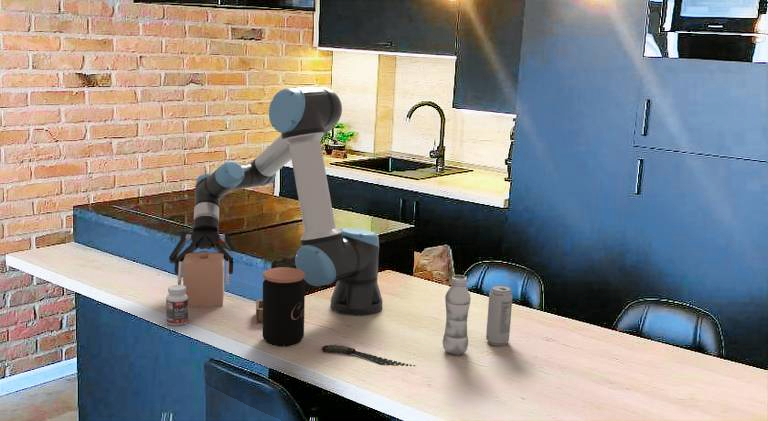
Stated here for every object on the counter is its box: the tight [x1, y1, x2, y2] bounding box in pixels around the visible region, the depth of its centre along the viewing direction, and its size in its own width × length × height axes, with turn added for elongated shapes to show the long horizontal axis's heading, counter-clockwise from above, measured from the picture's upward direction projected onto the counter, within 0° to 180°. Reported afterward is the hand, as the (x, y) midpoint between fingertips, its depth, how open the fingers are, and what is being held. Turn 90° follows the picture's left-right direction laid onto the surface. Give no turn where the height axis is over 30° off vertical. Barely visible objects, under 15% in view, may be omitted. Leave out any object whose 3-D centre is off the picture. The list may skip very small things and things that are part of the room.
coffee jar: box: [261, 266, 306, 347], centre depth 206 cm, size 11×11×18 cm
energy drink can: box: [485, 284, 513, 347], centre depth 210 cm, size 6×6×15 cm
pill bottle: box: [165, 284, 189, 326], centre depth 216 cm, size 6×6×10 cm
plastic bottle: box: [442, 274, 472, 356], centre depth 202 cm, size 6×7×20 cm
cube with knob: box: [182, 250, 225, 308], centre depth 233 cm, size 11×11×15 cm
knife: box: [321, 344, 416, 367], centre depth 197 cm, size 28×2×5 cm
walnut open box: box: [255, 299, 263, 324], centre depth 222 cm, size 10×8×4 cm
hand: (203, 283), depth 232 cm, fingers open, 13 cm apart
